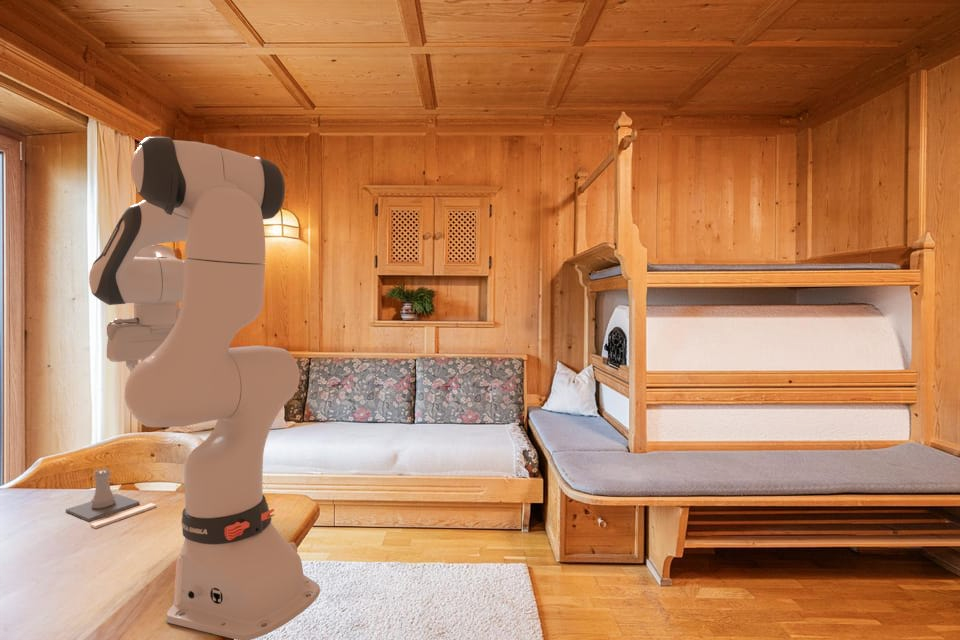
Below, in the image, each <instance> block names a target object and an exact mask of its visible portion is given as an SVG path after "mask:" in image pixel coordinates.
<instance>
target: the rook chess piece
mask: <svg viewBox="0 0 960 640" xmlns="http://www.w3.org/2000/svg"><path fill="white" fill-rule="evenodd" d="M111 474H112V472H111V471H110V468H108V467H107V468H106V467H105V468H104V470H103V468H100V469H97V470H95V471H94V474H93V475H92V477H93V478H94V479H95V481H94V484H95V489H94V490H95V491H94V492H95V493H94V495H93V497H92V499H91V500H90V502H92V503H93V504H92V505H91V507H92V508H94V509H101V508H106V507H109V506H111V505H113V504H114V503H115V500H114V498H115V496H114V495H113V494H114V493H113V492H112V490H111V486H110V481H111V478H110V476H111Z"/></svg>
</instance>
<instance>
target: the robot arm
mask: <svg viewBox="0 0 960 640" xmlns="http://www.w3.org/2000/svg"><path fill="white" fill-rule="evenodd" d="M130 174H131V177H132V181H133V183H134V187H135V189H136V192H137V194H138V196H140V197H141V198H142V199H143V200H142V201H140V202H138V203H135V204H133V205H131V206H129V207H127V209H125V211H124V212H123V214H122V215H121V217H120V218H119V220H118V222H117V224H116V225H115V227H114V229H113V231H112V233H111V235H110V237H109V238H108V241H107V243H106V245H105V246H104V248H103V251H102V252H101V253H100V255H99V256H98V257H97V258H96V259H95V260H94V261H93V263H92V266H91V268H90V270H89V271H90V272H89V276H88V283H89V287H90V291H91V294H92V295H93V296H94V297H95V298H96V299H98V300H100V301H101V302H103V303H104V304H106V305H108V306H114V305H115V306H116V305H125V304H133V316H134V317H129V318H115V319H114V320H112V321H110V322H109V323H108V324H107V325H106V336H107V341H106V342H107V344H106V358H107V359H108V360H109V361H110V362H113V363H114V362H115V363H120V362H121V363H123V362H125V366H126V367H127V369H128V370H129V371H130V373H129V376H128V378H127V380H126V383H125V386H124V387H125V388H124V400H125V403H126V407H127V409H128V411H129V413H130V414H131V415H132V417H134V419H135V420H136V421H137V422H139V423H140V424H141V425H144V426H145V427H147V428H177V427H178V428H182V427H188V426H194V425H198V424H203V423H207V422H212V421H216V420H217V421H216V424H215V425H214V428H213V430H212V431H211V433H210V434H209V435H208V437H207V438H206V439H205V440H204V441H202V442H201V443H200V444H199V445H197V446H196V447H195V448H194V449H193V450H191V452H190V453H189V454H188V456H187V458H186V460H185V463H184V467H183V476H184V478H183V479H184V480H183V482H184V509H183V510H182V513H181V514H182V516H181V527H182V529H181V530H182V536H183V537H184V541H183V545H182V547H181V550H180V552H179V554H178V556H177V560H176V561H175V562H176V564H175V576H174V577H175V578H174V593H173V595H174V596H173V604H172V606H171V607H169V609H168V611H167V612H166V618H165V619H166V623H169V624H172V625H176V626H180V627H185V628H187V629H188V628H189V629H191V630H192V629H193V630H196V631H200V632H204V633H208V634H213V635H216V636H220V637H224V638H228V639H233V640H255V639H257V638H260V637H263V636H265V635H267V634H269V633H271V632H274V631H276V630H277V629H279V628H281V627H283V626H285V625H286V624H287V623H289V622H291V621H292V620H294V619H295V618H297V617H298V616H299V615H300V614H302V613H304V611H306V609H308V608H309V607H310V606H311V605H312V604H313V603H314V602H315V601H317V599H318V597H319V595H320V593H321V588H320V584H318V583H317V582H316V581H314V580H313V579H311V578H310V577H308V576H306V575H305V574H304V570H303V563H302V560H301V559H302V558H301V556H300V555H299V553H298V547H297V545H296V543H295V542H293V541H290V542H288V541H287V540H286V539H285V537H284V536H283V535H282V534H281V533H280V531H278V529H277V528H276V527H275V526H274V525H273V523H272V517H274V516H275V514H274V513H273V512H274V511H275V508H272V509H269V504H268V503H267V500H266V496H265V495H264V493H263V491H264V490H263V468H264V466H263V465H264V464H263V463H264V452H265V447H266V442H267V439H268V436H269V433H270V430H271V428H272V426H273V424H274V421H275V420H276V418H277V416H278V415H279V413H280V412H281V410H282V409H283V408H284V407H285V405H286V404H287V403H288V402H289V401H290V400H291V399H292V398H293V397H294V395H295V394H296V392H297V390H298V387H299V385H300V380H301V379H300V377H301V375H300V374H301V373H300V369H299V366H298V363H297V361H296V359H295V357H294V356H293V354H291V352H290V351H288V350H287V349H285V348H282V347H276V346H275V347H274V346H268V345H267V346H266V345H259V344H258V345H248V346H236V347H230V346H231V343H232V342H233V340H234V338H235V336H236V335H237V334H238V333H239V331H241V330H242V329H243V328H245V326H247V325H249V324H251V323H252V322H254V321H255V320H256V319H257V318H258V317H259V316H260V314H261V313H262V310H263V307H264V298H265V297H264V296H265V294H264V293H265V278H266V277H265V274H266V234H265V226H264V220H269V219H273V218H274V217H275V216H276V215H277V214H278V213H279V212H280V211H281V209H282V207H283V203H284V199H285V194H286V193H285V192H286V187H285V186H286V185H285V178H284V174H283V173H282V171H281V169H280V168H279V166H278V165H277V164H275V163H273V162H272V161H270V160H268V159H265V158H263V157H260V156H255V157H253V156H251V155H248V154H245V153H241V152H238V151H235V150H231V149H227V148H222V147H219V146H217V145H215V144H209V143H203V142H200V141H189V140H175V139H172V138H171V137H169V136H148V137H145V138H143V140H141V141H139V143H138V145H137V149H136V150H135V152H134V154H133V155H132V159H131V163H130ZM177 242H178V243H179V242H185V246H184V247H185V248H184V250H185V251H184V257H185V258H184V259H179V258H178V257H176V254H175V250H174V249H173V247H172V248H171V247H169V246H167V245H166V246H165V245H163V244H165V243H166V244H167V243H177ZM161 244H162V245H161ZM180 302H181V303H180ZM139 360H141V361H140V362H139ZM272 513H273V514H272Z"/></svg>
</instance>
